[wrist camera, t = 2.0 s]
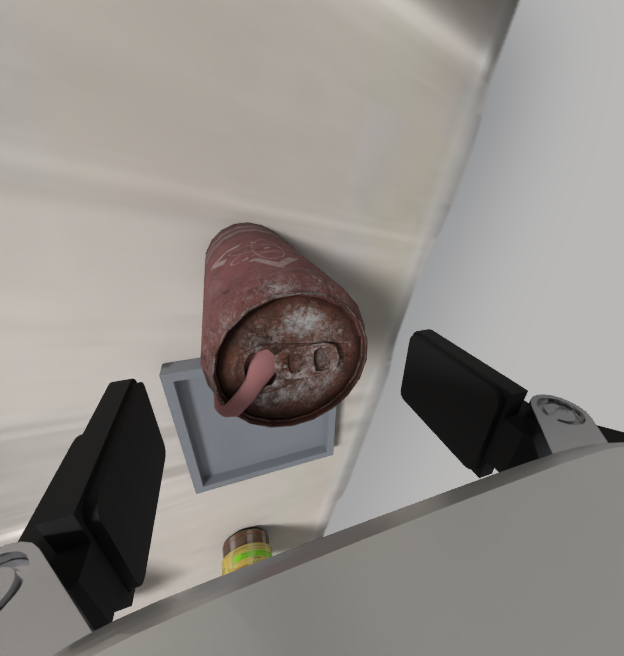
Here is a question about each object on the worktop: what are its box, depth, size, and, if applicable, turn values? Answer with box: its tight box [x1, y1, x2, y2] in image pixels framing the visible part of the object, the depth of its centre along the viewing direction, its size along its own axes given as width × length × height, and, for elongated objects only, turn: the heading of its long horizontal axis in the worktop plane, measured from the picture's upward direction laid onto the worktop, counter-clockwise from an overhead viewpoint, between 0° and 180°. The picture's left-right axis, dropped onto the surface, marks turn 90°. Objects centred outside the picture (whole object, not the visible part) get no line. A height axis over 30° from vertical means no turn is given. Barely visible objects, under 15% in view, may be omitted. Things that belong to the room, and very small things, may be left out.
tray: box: [159, 358, 336, 494], centre depth 27 cm, size 15×15×2 cm
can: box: [200, 222, 367, 428], centre depth 15 cm, size 6×6×14 cm
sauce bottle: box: [222, 529, 272, 576], centre depth 29 cm, size 6×6×20 cm
